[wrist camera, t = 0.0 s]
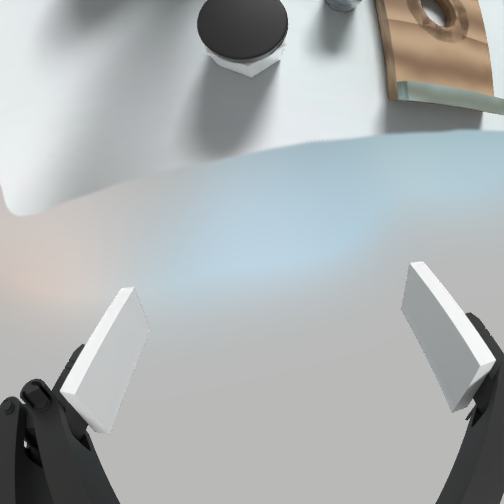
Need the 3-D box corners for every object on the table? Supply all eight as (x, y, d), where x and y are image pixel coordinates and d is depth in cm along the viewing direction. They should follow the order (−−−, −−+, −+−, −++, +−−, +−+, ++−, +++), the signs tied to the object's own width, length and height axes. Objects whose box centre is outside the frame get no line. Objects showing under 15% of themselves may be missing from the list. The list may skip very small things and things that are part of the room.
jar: (284, 75, 32) (294, 60, 22) (219, 81, 33) (201, 69, 22) (276, 14, 28) (282, -22, 18) (213, 20, 29) (193, -12, 18)
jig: (362, -46, 22) (375, -62, 16) (461, -19, 20) (480, -28, 15) (389, 99, 33) (408, 99, 27) (483, 111, 31) (506, 115, 26)
